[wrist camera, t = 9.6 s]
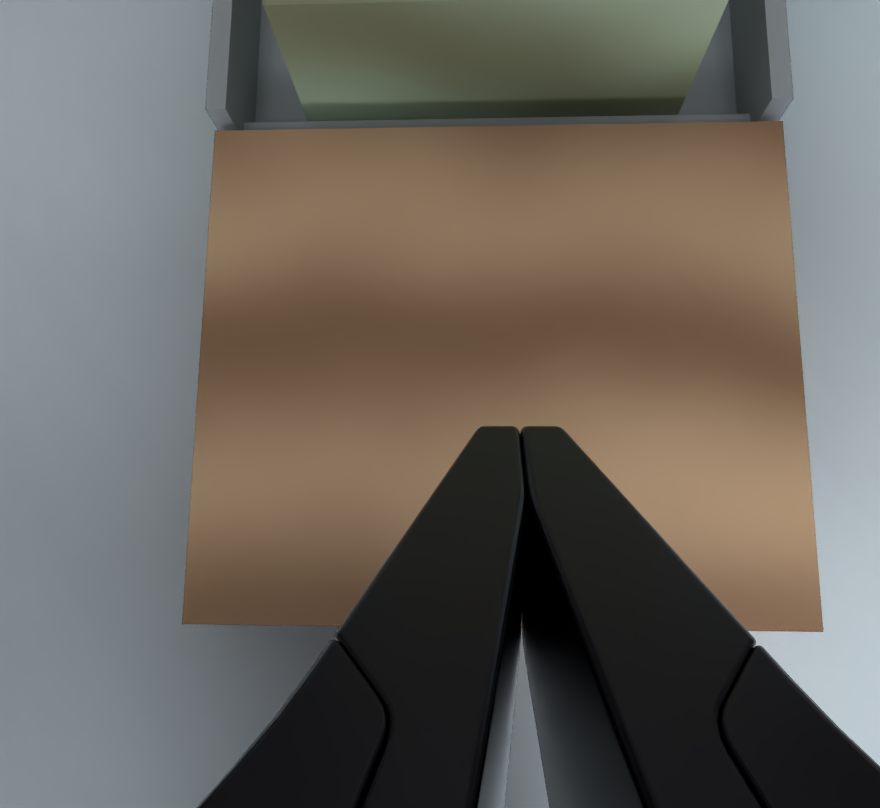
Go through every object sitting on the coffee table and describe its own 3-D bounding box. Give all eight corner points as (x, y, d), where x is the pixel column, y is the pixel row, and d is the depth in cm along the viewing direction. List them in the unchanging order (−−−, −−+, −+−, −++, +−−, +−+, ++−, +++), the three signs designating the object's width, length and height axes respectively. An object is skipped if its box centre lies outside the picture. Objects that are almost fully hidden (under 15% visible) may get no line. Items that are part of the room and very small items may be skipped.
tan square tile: (780, 623, 20) (823, 632, 18) (217, 616, 21) (182, 624, 18) (749, 169, 22) (782, 121, 20) (243, 176, 23) (215, 130, 20)
